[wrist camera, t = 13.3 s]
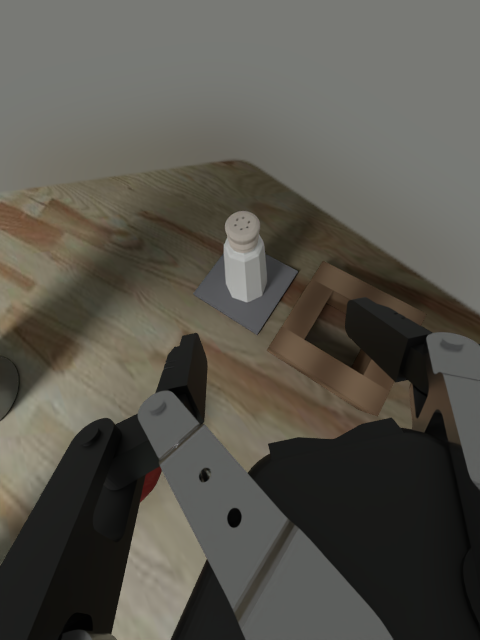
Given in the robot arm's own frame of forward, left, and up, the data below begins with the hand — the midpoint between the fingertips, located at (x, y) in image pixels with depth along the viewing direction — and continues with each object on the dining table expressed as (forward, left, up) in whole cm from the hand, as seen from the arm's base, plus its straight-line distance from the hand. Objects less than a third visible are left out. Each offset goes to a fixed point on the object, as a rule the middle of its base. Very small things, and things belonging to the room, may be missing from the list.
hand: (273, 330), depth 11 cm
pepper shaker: (-7, +7, -14) cm, 17 cm away
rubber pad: (-7, +7, -14) cm, 17 cm away
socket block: (+6, +7, -14) cm, 17 cm away
